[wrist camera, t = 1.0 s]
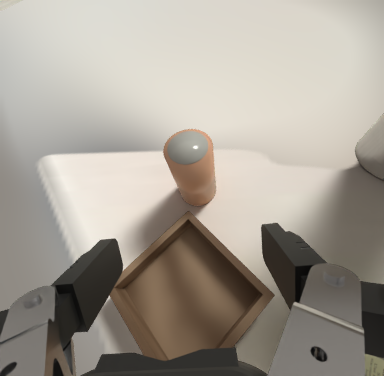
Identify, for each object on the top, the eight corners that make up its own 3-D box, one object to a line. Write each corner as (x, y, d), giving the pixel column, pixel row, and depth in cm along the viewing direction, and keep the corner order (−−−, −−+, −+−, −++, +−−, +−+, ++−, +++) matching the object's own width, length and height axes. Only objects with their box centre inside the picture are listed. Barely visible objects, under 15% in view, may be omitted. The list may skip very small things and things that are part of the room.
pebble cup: (198, 168, 32) (189, 121, 23) (223, 188, 30) (223, 144, 21) (173, 190, 31) (153, 148, 22) (197, 213, 28) (185, 176, 19)
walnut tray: (192, 219, 28) (188, 210, 25) (267, 294, 22) (274, 295, 19) (119, 288, 25) (105, 287, 22) (185, 395, 19) (177, 414, 16)
